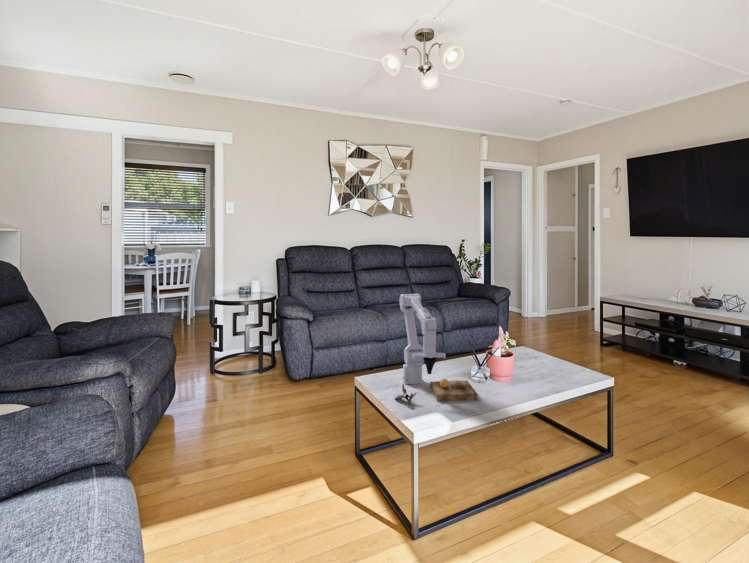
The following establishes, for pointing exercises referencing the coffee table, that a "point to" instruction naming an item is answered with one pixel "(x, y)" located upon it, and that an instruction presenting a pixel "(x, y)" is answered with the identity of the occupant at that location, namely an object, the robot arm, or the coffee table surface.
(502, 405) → the coffee table surface
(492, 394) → the coffee table surface
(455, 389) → the board
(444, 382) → the ball
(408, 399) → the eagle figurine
